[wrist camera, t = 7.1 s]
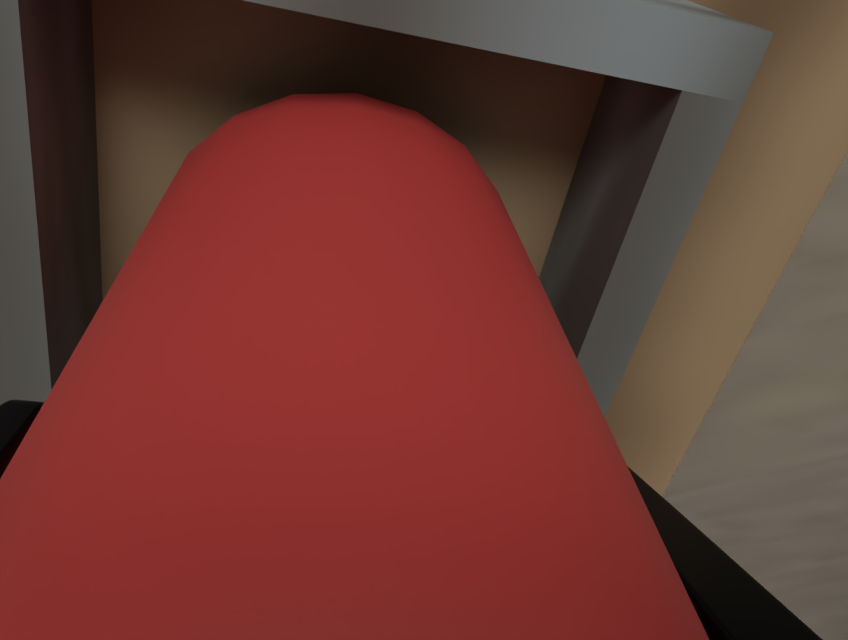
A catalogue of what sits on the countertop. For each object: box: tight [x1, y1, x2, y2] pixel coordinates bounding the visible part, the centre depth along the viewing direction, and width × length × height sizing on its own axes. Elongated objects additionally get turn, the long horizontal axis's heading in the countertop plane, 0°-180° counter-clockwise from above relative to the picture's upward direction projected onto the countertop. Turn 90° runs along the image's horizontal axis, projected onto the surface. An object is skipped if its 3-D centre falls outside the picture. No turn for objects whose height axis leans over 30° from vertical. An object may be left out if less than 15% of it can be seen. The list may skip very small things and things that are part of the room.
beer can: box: [0, 93, 709, 640], centre depth 9 cm, size 7×7×12 cm
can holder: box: [0, 0, 848, 496], centre depth 13 cm, size 20×14×4 cm
